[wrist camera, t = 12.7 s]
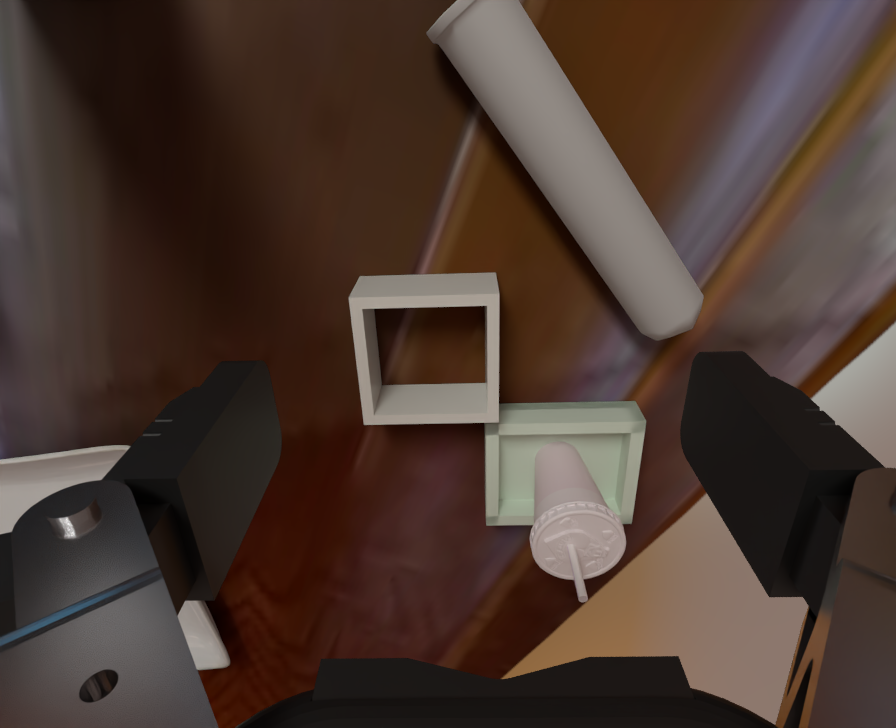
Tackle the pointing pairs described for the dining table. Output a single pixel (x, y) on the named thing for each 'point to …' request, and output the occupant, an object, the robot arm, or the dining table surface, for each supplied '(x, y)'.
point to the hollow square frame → (424, 398)
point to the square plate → (35, 477)
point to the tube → (569, 160)
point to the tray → (578, 423)
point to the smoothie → (572, 519)
